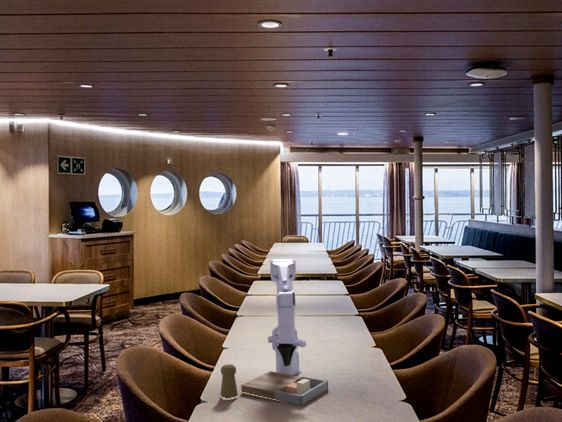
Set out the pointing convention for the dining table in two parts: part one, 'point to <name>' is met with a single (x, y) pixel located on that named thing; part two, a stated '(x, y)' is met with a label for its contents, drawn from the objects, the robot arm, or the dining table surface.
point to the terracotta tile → (291, 388)
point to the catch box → (315, 390)
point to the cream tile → (303, 386)
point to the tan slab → (269, 384)
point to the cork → (228, 381)
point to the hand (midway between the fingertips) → (287, 365)
